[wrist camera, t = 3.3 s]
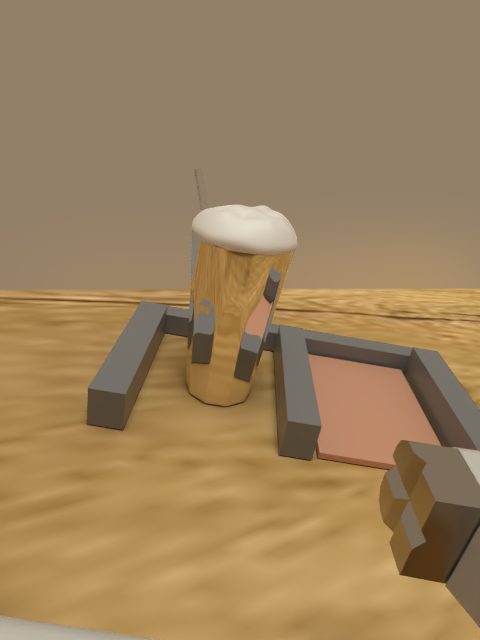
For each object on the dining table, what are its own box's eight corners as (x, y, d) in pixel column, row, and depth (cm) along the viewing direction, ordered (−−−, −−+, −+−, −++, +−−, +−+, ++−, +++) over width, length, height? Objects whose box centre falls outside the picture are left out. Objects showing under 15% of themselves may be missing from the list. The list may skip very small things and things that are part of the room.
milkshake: (202, 348, 26) (229, 169, 22) (279, 391, 23) (327, 196, 19) (142, 375, 23) (160, 169, 18) (224, 429, 20) (267, 202, 16)
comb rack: (420, 366, 29) (430, 341, 28) (496, 490, 19) (514, 458, 19) (144, 320, 28) (146, 293, 27) (87, 424, 19) (87, 388, 18)
